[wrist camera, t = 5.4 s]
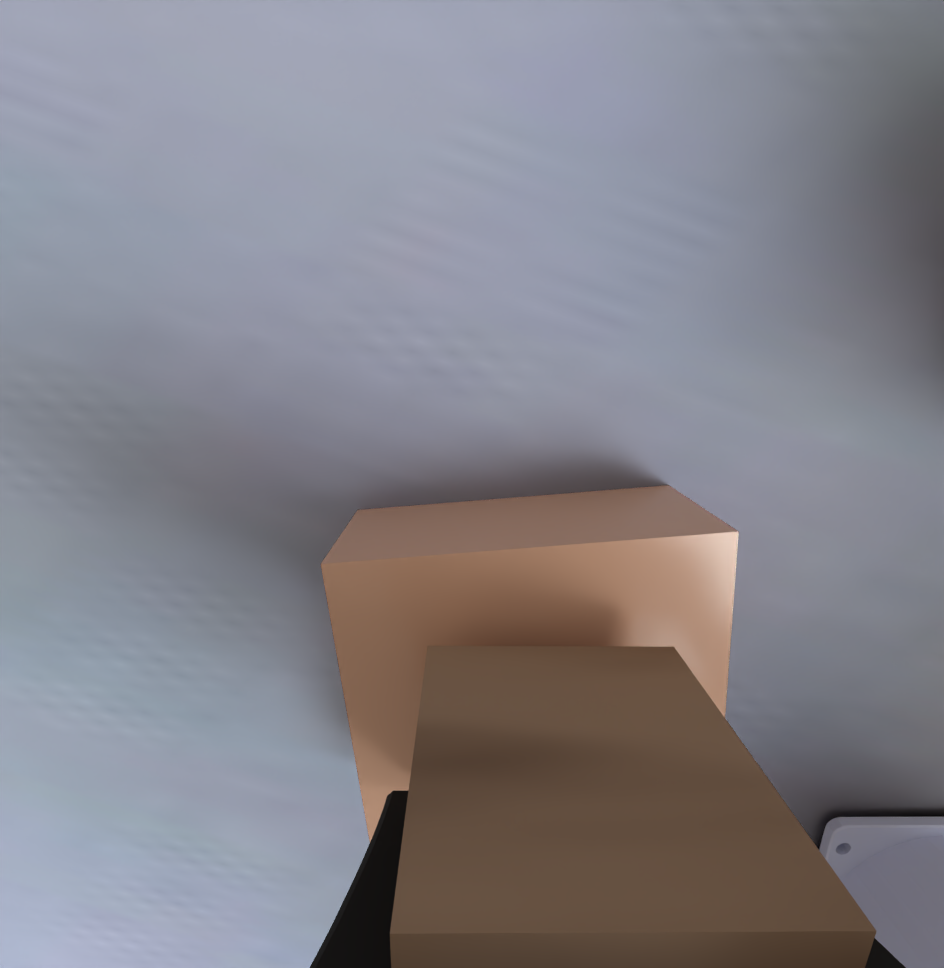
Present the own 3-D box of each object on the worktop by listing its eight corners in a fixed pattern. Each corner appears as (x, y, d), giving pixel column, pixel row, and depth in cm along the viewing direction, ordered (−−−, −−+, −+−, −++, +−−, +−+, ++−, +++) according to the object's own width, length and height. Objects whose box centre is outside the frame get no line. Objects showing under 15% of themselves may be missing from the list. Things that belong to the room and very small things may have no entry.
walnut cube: (647, 837, 11) (787, 1209, 6) (429, 838, 11) (401, 1215, 6) (673, 646, 10) (875, 930, 5) (427, 645, 10) (389, 932, 5)
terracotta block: (657, 734, 17) (715, 850, 13) (396, 753, 17) (375, 874, 13) (664, 482, 14) (738, 531, 10) (360, 506, 14) (320, 564, 10)
